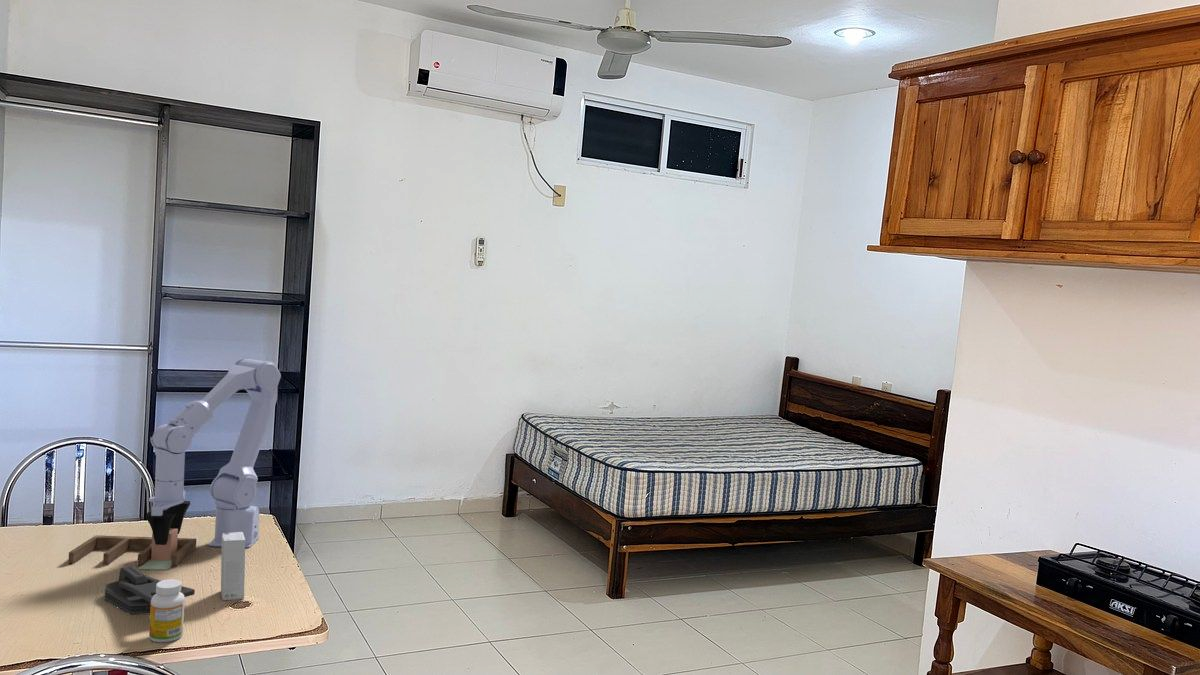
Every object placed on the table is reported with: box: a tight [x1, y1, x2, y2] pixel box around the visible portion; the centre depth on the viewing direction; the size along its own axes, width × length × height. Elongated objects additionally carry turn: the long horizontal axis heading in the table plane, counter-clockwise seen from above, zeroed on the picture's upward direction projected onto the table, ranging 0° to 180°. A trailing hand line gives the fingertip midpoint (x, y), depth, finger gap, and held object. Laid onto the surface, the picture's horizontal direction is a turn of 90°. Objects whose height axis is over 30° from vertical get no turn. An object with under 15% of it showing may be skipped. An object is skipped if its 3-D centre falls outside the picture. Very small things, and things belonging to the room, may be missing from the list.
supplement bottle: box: [148, 578, 186, 643], centre depth 154 cm, size 5×5×10 cm
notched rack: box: [68, 534, 197, 571], centre depth 193 cm, size 22×14×2 cm, turn 97°
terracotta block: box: [151, 528, 179, 561], centre depth 194 cm, size 4×4×6 cm
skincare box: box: [220, 532, 246, 601], centre depth 176 cm, size 6×4×12 cm
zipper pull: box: [104, 565, 196, 615], centre depth 166 cm, size 9×7×25 cm
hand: (167, 539), depth 194 cm, fingers open, 7 cm apart
